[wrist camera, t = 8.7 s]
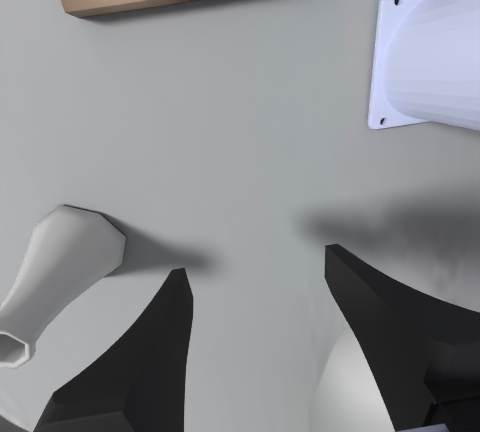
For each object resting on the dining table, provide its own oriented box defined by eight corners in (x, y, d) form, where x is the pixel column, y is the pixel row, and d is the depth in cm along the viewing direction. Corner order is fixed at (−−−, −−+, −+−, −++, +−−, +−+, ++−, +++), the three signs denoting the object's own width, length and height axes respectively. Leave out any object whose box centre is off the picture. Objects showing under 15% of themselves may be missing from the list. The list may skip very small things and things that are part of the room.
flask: (54, 188, 20) (-72, 275, 11) (141, 233, 23) (94, 333, 14) (24, 253, 23) (-99, 366, 14) (106, 287, 25) (46, 401, 16)
